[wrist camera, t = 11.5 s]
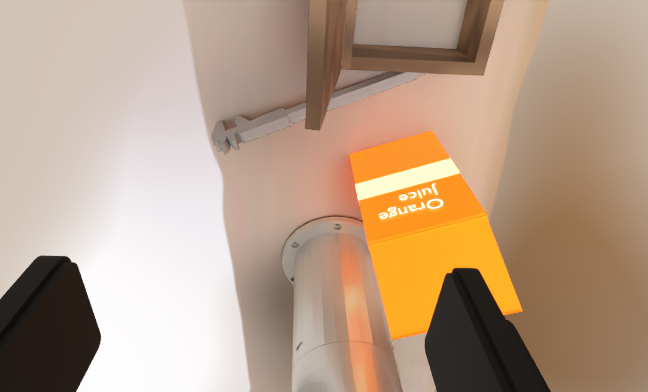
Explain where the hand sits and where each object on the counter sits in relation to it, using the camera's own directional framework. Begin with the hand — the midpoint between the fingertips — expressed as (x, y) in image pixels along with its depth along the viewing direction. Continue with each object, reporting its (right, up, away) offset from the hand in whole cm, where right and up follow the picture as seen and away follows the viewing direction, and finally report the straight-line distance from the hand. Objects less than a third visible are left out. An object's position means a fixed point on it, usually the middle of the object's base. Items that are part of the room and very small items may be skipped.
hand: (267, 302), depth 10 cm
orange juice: (+9, +5, +32) cm, 34 cm away
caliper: (+1, +12, +28) cm, 30 cm away
